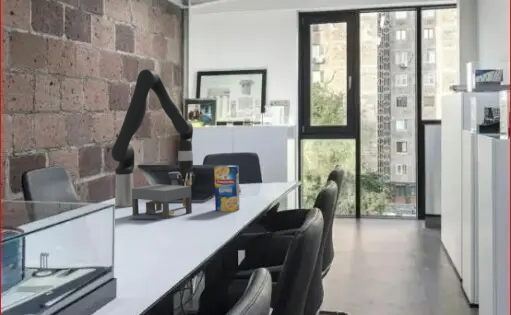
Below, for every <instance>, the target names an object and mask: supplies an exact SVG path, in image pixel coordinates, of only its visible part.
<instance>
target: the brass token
mask: <svg viewBox="0 0 511 315" xmlns="http://www.w3.org/2000/svg"><path fill="white" fill-rule="evenodd" d="M174 214H175V211H174V210H173V211H172V210H169V216H172V215H174ZM160 215H162V216H163V211H161V212H160Z"/></svg>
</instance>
